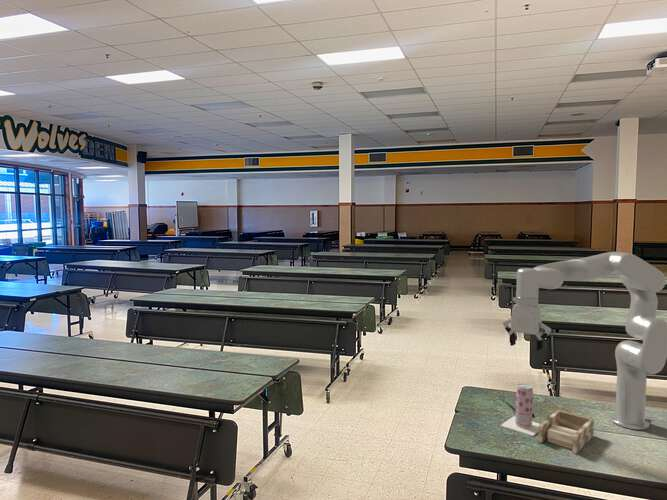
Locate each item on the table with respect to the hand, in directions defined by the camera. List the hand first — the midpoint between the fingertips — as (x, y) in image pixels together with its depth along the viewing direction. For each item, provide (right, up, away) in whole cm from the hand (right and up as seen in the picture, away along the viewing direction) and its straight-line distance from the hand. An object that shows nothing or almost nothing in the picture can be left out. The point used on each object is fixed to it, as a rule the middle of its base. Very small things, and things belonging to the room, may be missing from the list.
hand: (525, 347), depth 174 cm
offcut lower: (+9, -31, -11) cm, 34 cm away
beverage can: (0, -30, +2) cm, 30 cm away
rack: (+11, -31, -9) cm, 34 cm away
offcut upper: (+8, -29, -11) cm, 32 cm away
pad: (0, -30, +2) cm, 30 cm away
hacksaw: (+3, -30, +22) cm, 37 cm away
